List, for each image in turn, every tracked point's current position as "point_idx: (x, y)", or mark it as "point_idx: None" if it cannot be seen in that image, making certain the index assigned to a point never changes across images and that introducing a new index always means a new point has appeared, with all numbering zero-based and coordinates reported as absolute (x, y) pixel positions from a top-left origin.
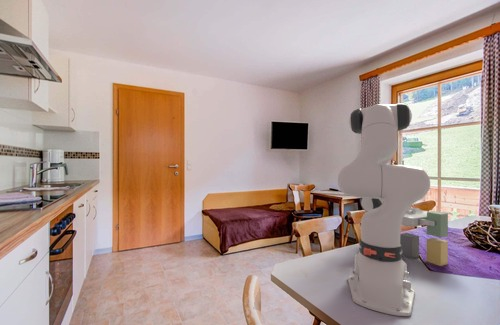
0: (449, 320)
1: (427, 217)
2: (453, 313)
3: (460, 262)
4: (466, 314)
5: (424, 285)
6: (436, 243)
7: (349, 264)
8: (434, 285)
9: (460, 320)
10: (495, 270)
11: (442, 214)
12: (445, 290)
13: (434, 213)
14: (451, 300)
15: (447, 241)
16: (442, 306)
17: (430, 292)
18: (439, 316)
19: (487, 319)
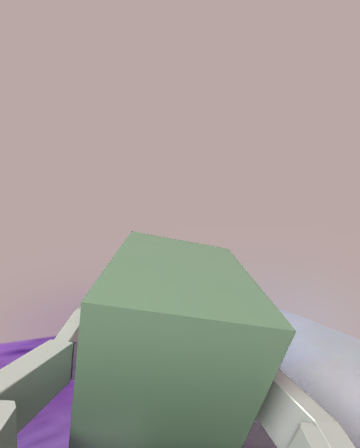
0: (334, 329)
1: (261, 384)
2: (319, 331)
3: (18, 443)
4: (301, 322)
5: (334, 402)
6: None
7: None
8: (304, 387)
9: (318, 323)
10: (53, 336)
11: (208, 247)
12: (291, 363)
13: (247, 272)
14: (302, 343)
15: None
16: (328, 344)
17: (331, 376)
18: (345, 338)
19: (281, 309)
